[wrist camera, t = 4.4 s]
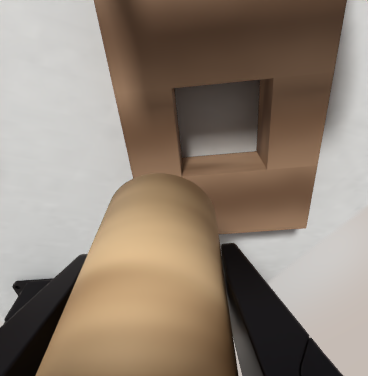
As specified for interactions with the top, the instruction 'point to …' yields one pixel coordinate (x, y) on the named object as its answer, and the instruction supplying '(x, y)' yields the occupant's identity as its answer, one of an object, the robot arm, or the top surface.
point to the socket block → (226, 73)
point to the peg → (148, 290)
